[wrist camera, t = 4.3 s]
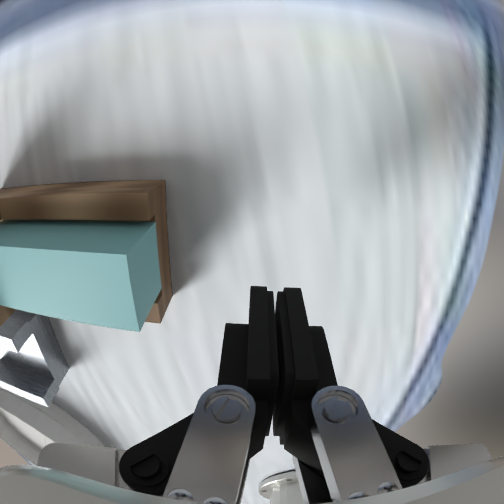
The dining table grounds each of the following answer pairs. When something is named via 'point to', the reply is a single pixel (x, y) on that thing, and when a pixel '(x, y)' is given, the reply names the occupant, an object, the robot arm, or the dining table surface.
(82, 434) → the dish
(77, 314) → the teal block
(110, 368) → the dining table surface
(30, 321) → the cradle block
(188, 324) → the dining table surface
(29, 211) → the brown wooden bracket
